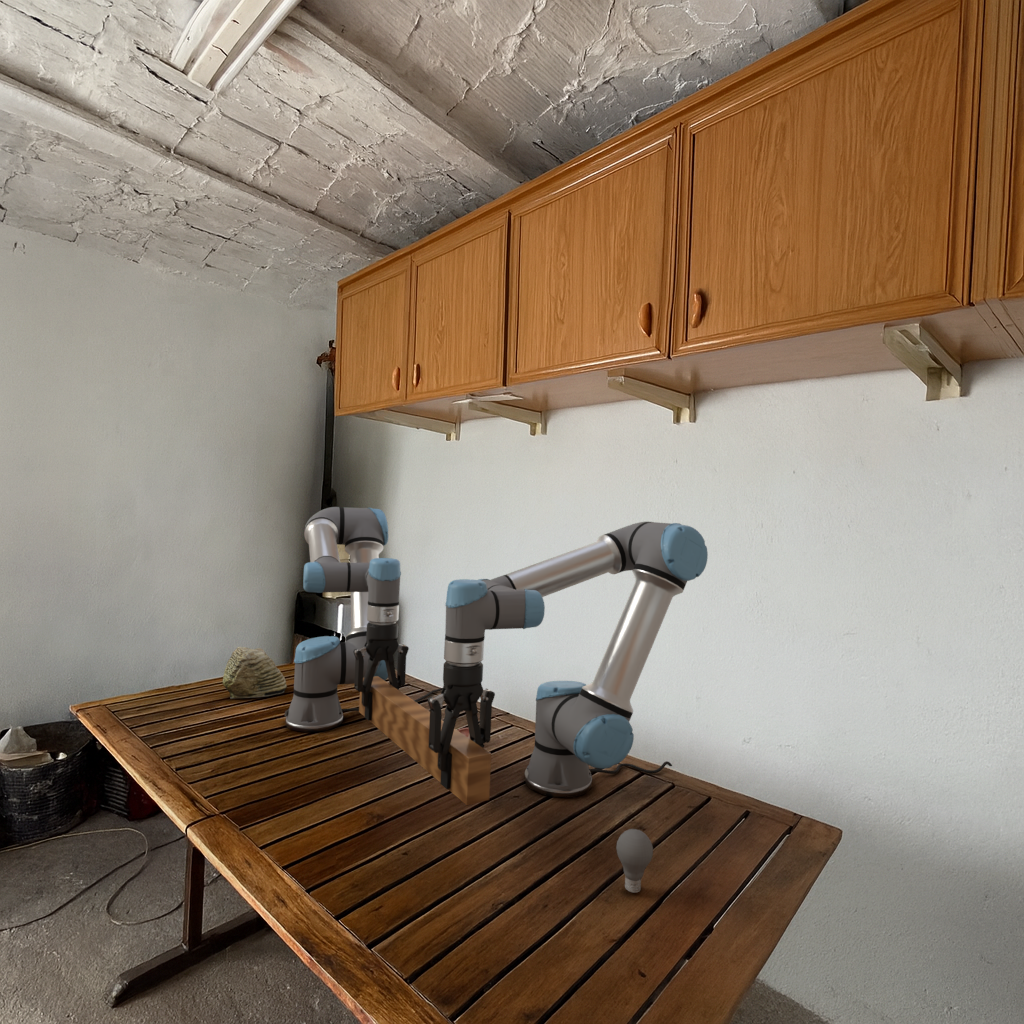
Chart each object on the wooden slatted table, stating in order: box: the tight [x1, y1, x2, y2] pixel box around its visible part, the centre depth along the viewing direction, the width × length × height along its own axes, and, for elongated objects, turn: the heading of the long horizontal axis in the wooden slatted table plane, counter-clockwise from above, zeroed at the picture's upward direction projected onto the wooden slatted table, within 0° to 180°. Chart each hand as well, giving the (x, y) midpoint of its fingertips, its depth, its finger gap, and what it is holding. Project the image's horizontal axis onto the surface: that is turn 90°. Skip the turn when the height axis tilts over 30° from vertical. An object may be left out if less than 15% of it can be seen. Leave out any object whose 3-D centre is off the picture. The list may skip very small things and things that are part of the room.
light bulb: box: [615, 828, 654, 894], centre depth 106 cm, size 6×6×10 cm
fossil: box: [222, 646, 288, 699], centre depth 198 cm, size 9×18×15 cm, turn 132°
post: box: [358, 676, 492, 806], centre depth 137 cm, size 56×5×9 cm, turn 33°
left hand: (378, 716), depth 155 cm, fingers closed on post, 5 cm apart
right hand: (458, 782), depth 121 cm, fingers closed on post, 5 cm apart
